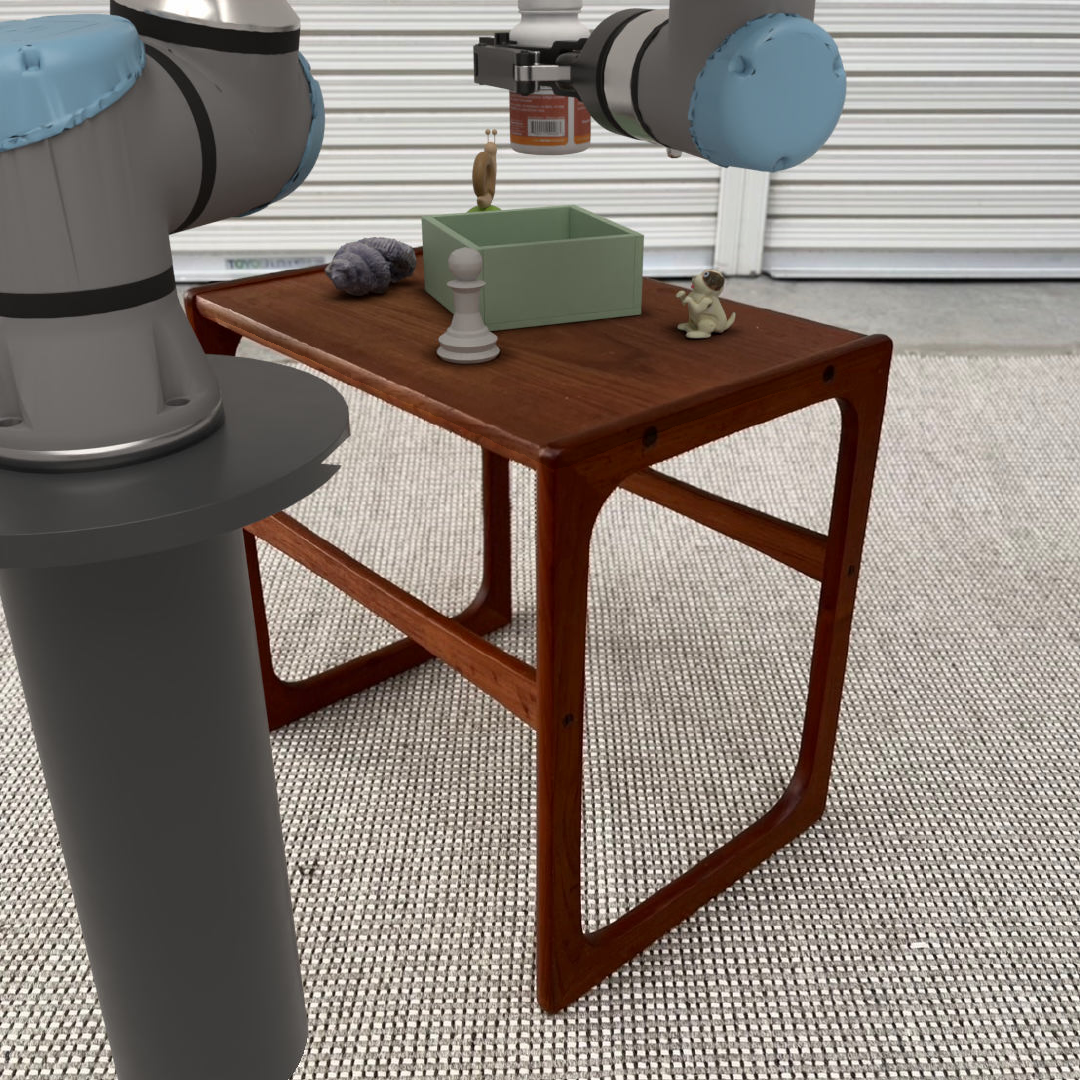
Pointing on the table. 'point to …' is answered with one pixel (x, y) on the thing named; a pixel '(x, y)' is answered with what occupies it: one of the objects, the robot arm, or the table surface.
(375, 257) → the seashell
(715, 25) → the robot arm
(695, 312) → the toy dog
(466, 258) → the chess piece
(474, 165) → the snail figurine
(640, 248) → the bin
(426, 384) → the table surface
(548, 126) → the pill bottle
